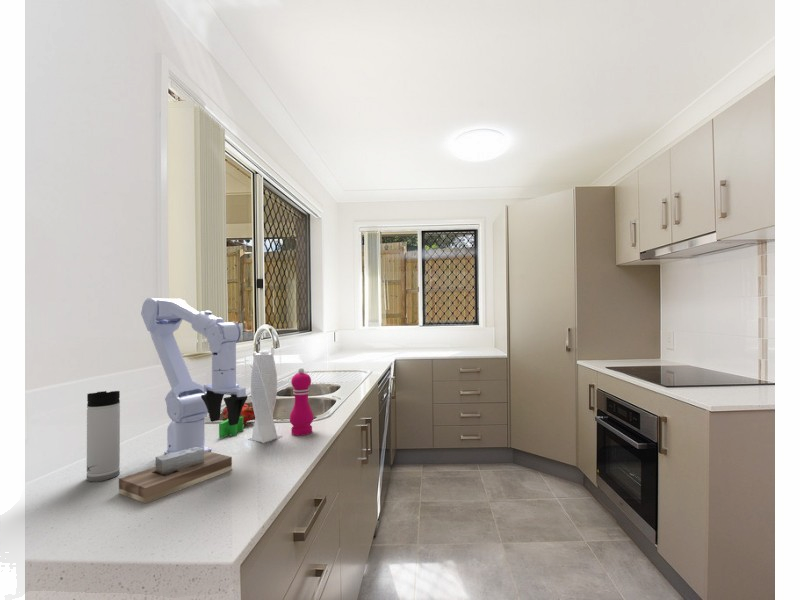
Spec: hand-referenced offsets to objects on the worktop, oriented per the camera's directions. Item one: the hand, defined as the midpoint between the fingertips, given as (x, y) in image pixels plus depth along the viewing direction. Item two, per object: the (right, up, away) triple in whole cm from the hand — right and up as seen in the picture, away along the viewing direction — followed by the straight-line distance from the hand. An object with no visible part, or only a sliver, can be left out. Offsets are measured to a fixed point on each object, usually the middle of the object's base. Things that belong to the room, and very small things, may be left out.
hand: (224, 422), depth 107 cm
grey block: (-4, -8, -13) cm, 16 cm away
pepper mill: (+14, -10, +23) cm, 29 cm away
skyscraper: (+5, -10, +17) cm, 20 cm away
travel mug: (-24, -10, -10) cm, 27 cm away
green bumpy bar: (-7, -11, +24) cm, 27 cm away
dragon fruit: (-9, -11, +34) cm, 37 cm away
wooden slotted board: (-4, -9, -13) cm, 17 cm away
